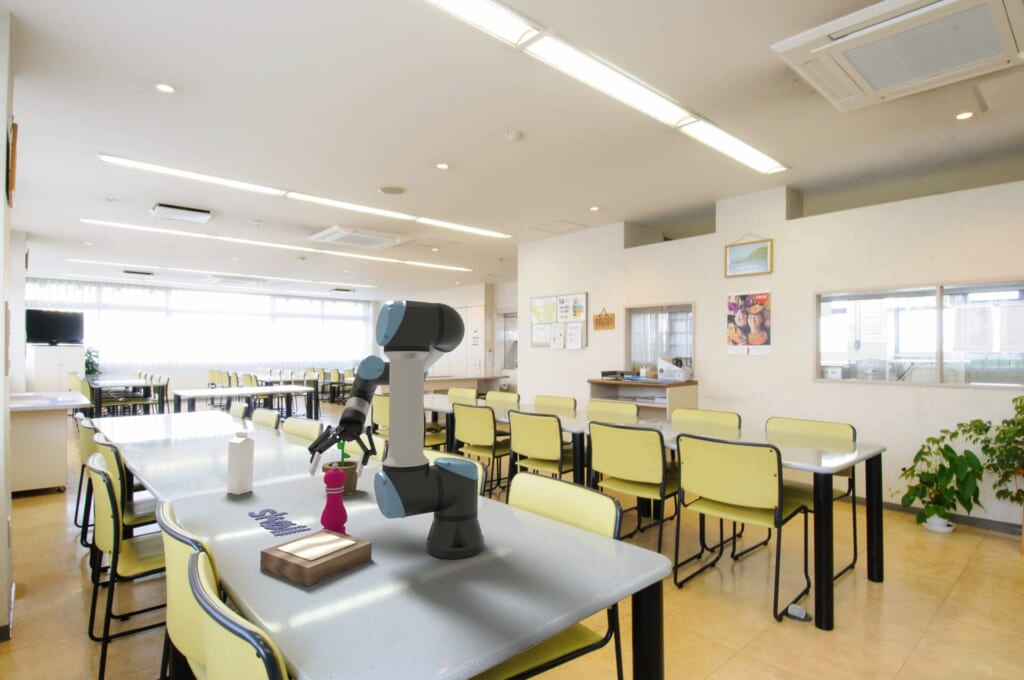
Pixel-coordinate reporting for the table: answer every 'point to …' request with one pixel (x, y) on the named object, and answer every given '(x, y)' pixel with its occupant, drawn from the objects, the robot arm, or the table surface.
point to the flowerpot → (345, 469)
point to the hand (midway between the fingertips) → (334, 474)
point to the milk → (240, 464)
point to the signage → (276, 522)
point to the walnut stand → (315, 556)
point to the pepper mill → (334, 501)
